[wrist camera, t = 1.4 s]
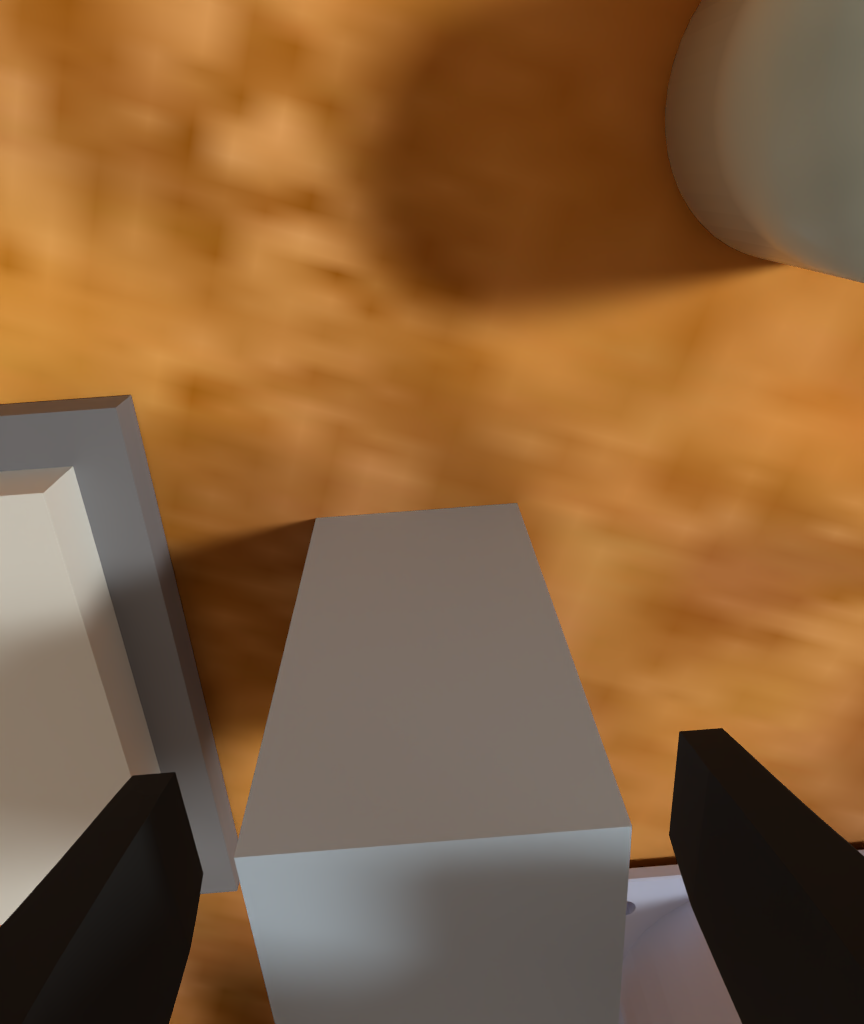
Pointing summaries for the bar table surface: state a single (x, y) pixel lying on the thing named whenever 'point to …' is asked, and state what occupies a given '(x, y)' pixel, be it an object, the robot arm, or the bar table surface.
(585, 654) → the bar table surface
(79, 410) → the display podium
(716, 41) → the grey cylinder
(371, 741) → the carton
